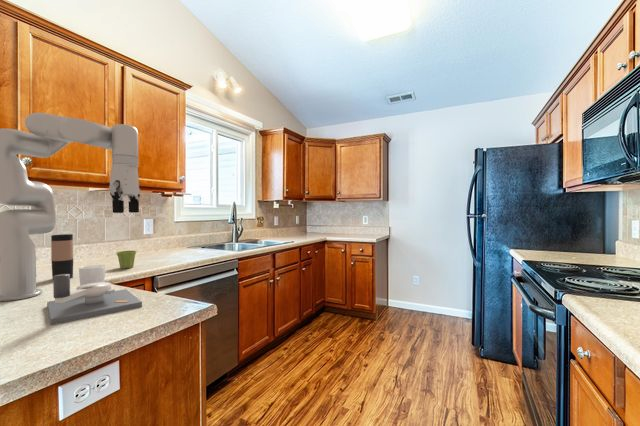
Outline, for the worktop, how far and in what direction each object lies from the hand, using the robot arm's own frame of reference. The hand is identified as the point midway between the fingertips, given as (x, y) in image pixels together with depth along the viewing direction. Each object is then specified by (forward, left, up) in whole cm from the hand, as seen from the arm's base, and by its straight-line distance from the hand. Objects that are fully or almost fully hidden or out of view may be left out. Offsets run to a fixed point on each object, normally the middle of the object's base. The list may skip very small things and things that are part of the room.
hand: (126, 212), depth 103 cm
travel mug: (-61, -13, -31) cm, 70 cm away
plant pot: (-70, +14, -31) cm, 78 cm away
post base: (-1, -9, -30) cm, 32 cm away
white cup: (-21, -7, -31) cm, 38 cm away
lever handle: (+2, -11, -26) cm, 28 cm away
